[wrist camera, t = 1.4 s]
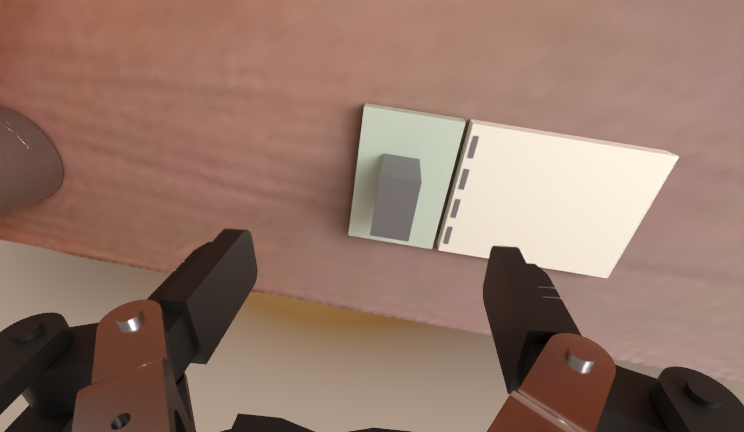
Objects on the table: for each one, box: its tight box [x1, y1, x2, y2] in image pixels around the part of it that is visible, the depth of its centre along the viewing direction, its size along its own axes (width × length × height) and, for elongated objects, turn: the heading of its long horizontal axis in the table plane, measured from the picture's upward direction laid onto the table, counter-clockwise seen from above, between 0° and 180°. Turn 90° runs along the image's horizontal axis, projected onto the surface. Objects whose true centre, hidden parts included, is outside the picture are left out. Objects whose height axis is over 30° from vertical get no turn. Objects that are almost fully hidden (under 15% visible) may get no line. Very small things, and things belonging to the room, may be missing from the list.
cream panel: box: [437, 119, 679, 278], centre depth 30 cm, size 16×12×2 cm
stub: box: [348, 103, 466, 249], centre depth 28 cm, size 8×12×6 cm, turn 172°
